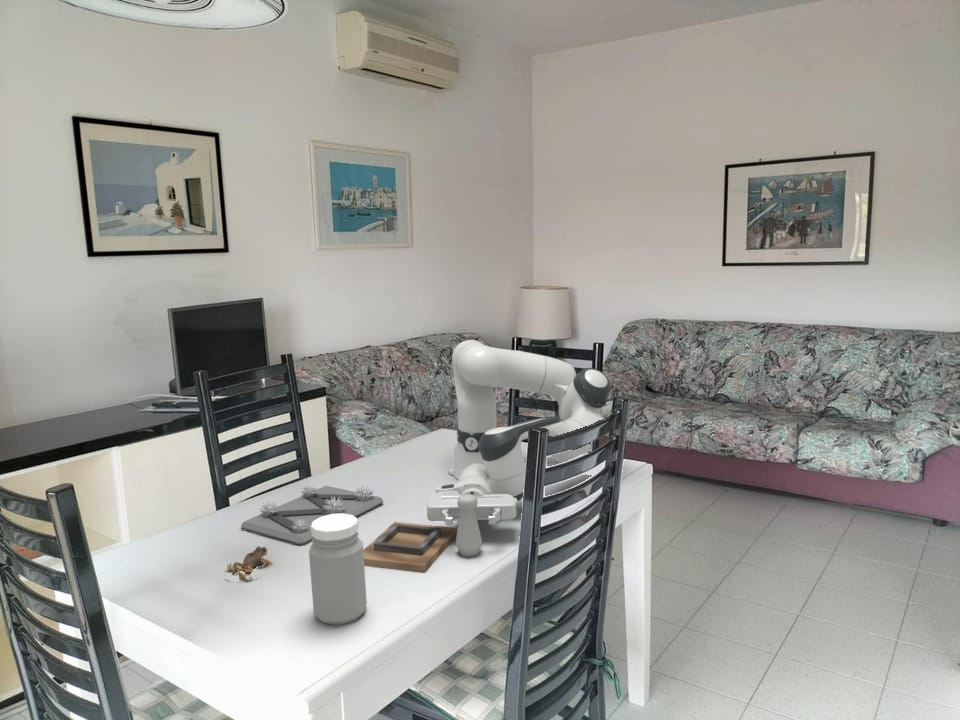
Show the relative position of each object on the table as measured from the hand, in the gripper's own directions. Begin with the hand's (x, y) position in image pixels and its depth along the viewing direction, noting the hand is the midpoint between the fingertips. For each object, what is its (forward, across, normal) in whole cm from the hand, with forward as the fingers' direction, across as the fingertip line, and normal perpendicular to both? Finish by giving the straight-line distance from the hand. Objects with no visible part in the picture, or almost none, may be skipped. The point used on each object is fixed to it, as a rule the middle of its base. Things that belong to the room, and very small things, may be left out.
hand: (470, 521), depth 153 cm
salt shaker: (0, 0, -8) cm, 8 cm away
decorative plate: (-23, +41, -8) cm, 48 cm away
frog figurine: (+6, +47, -8) cm, 48 cm away
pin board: (-3, +14, -7) cm, 16 cm away
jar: (+25, +23, -7) cm, 35 cm away
